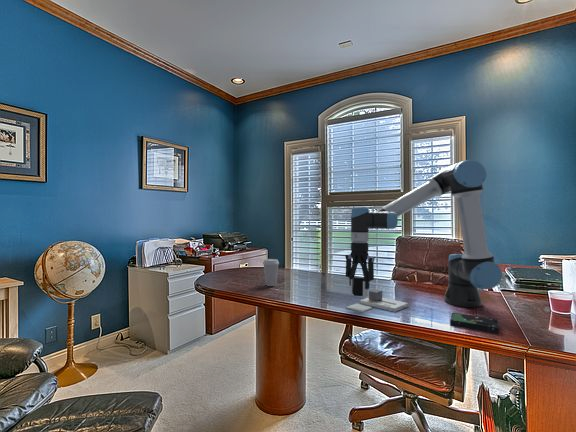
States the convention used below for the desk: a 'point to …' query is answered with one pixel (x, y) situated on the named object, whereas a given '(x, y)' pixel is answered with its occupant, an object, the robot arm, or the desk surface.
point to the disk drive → (474, 323)
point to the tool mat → (359, 307)
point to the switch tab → (375, 295)
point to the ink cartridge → (358, 286)
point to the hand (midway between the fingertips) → (359, 294)
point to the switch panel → (385, 304)
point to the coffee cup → (271, 271)
